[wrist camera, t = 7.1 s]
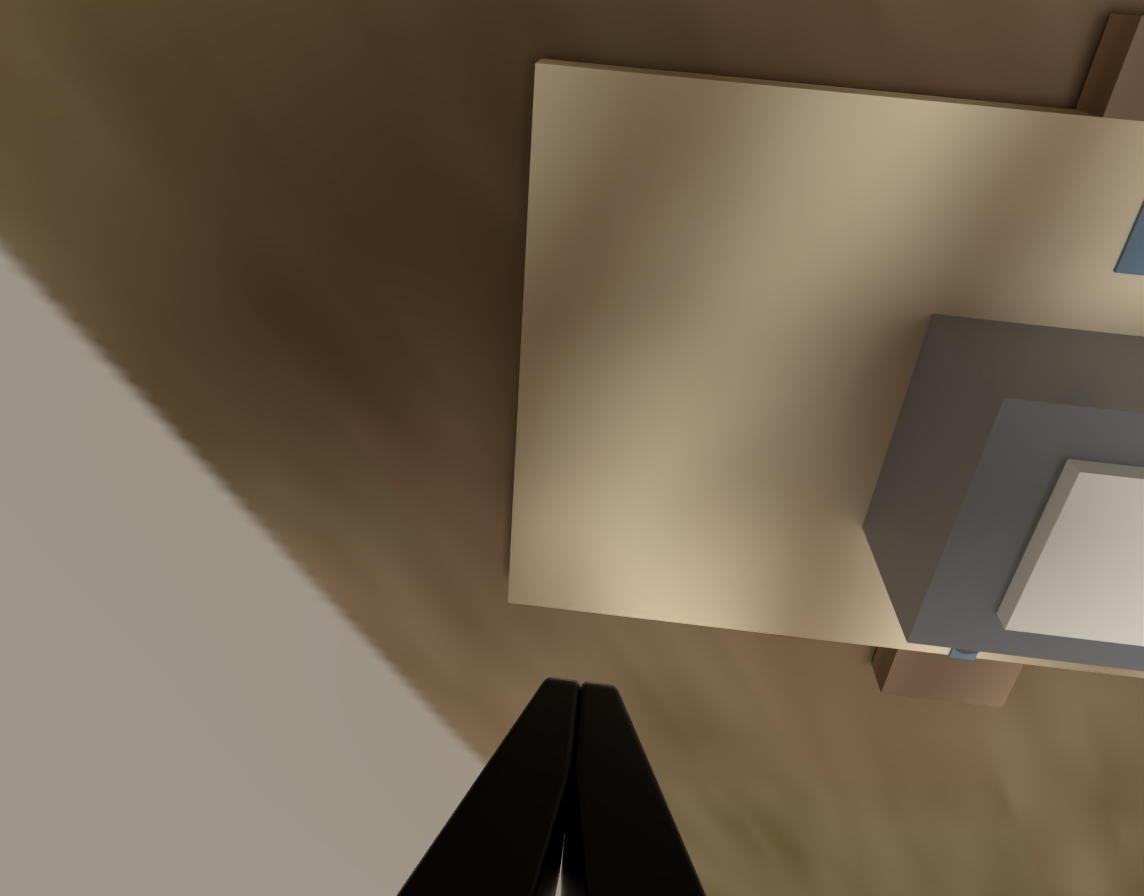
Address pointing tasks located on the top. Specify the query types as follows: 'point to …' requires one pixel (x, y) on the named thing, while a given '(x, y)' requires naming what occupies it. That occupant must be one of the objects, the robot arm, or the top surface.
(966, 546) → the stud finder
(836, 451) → the board
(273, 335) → the top surface
